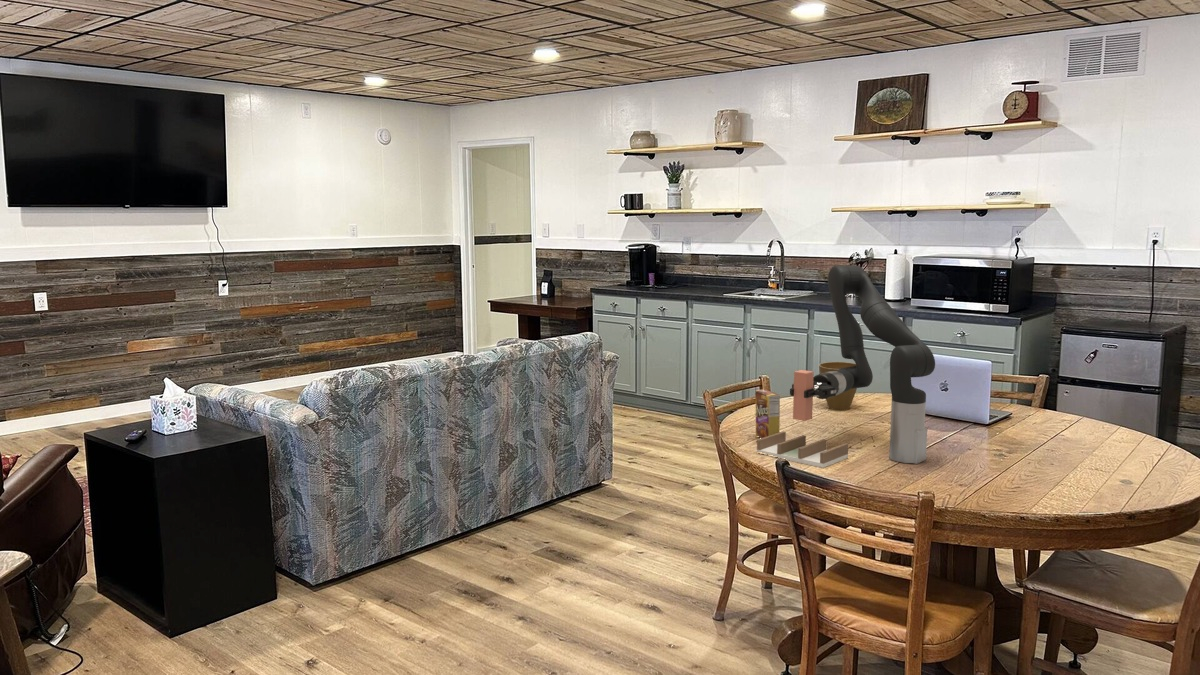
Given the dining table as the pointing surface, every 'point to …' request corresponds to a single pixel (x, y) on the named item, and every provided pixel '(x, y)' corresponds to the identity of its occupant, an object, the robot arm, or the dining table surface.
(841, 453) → the comb rack
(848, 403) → the plant pot
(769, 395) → the candy box
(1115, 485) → the dining table surface
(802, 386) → the slim block
